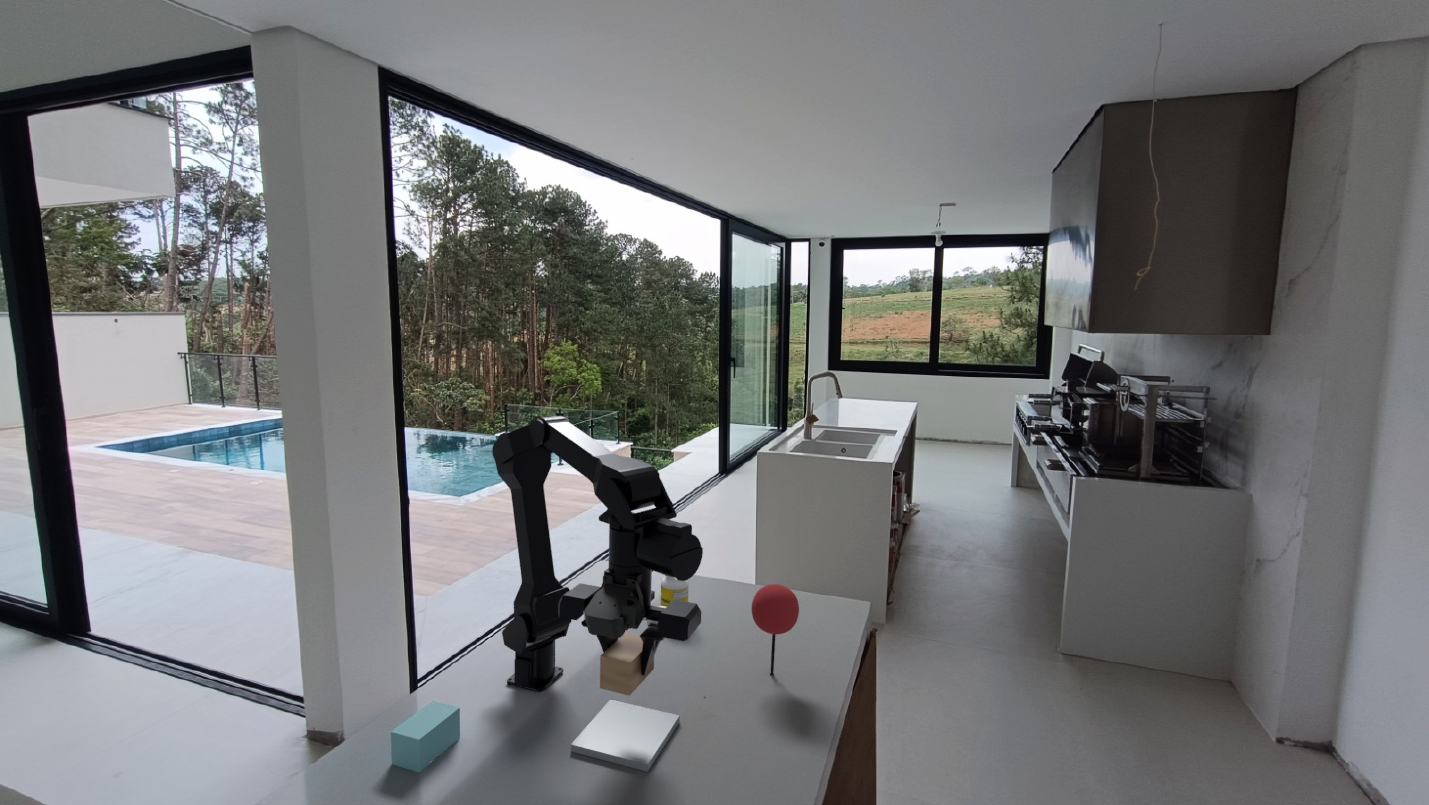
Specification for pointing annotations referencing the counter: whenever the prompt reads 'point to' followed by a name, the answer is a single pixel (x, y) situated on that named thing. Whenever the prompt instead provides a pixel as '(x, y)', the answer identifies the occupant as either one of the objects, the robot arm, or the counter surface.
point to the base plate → (626, 735)
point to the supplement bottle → (673, 590)
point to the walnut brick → (623, 665)
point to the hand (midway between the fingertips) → (628, 670)
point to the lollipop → (775, 611)
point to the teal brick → (425, 736)
